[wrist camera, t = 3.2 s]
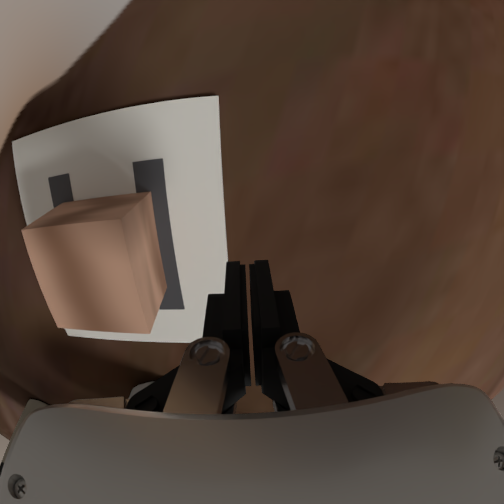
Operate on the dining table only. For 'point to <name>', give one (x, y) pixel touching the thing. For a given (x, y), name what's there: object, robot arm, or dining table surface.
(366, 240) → the dining table surface
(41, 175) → the letter card
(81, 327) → the brown block
